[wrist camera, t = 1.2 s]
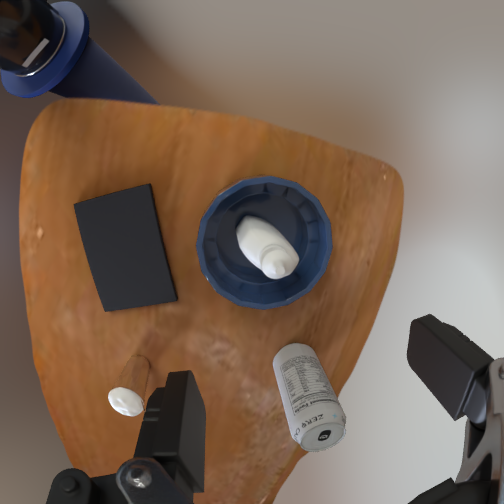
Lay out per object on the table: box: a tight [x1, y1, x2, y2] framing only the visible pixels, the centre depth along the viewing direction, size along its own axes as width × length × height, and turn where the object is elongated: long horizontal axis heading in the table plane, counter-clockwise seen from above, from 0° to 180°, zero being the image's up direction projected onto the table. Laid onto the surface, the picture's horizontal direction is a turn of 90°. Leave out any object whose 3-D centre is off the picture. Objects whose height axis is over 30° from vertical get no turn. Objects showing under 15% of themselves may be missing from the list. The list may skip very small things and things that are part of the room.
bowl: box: [196, 175, 333, 310], centre depth 31 cm, size 13×13×6 cm
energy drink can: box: [273, 343, 346, 452], centre depth 31 cm, size 6×6×15 cm
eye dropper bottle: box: [236, 215, 299, 279], centre depth 27 cm, size 4×6×12 cm
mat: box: [74, 184, 178, 312], centre depth 32 cm, size 14×10×1 cm
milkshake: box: [108, 355, 150, 416], centre depth 32 cm, size 4×5×10 cm
